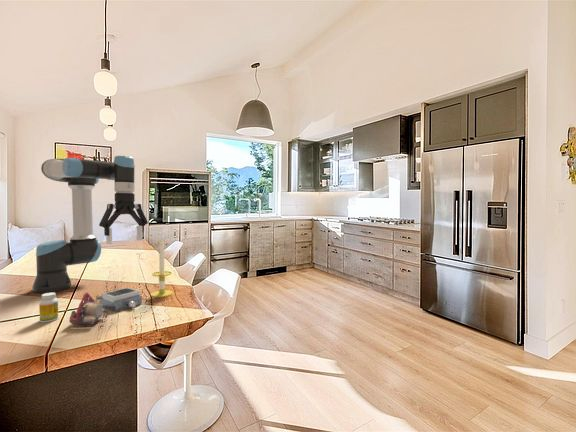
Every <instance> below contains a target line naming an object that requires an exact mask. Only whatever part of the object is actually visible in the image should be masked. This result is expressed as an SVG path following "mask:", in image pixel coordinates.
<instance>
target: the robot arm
mask: <svg viewBox="0 0 576 432" xmlns="http://www.w3.org/2000/svg"><path fill="white" fill-rule="evenodd" d="M40 166H41V167H40V168H41V169H40V170H41V173H42V174H43V175H44V176H45V178H48V179H49V180H52V181H54V182H60V183H61V182H62V183H67V187H68V188H70V189H71V201H72V202H71V203H72V206H71V207H72V209H71V210H72V236H71V237H70V238H69V242H67V241H66V240H64V239H60V240H52V241H47V242H42V243H40V244H38V245H37V246H36V249H35V250H36V251H35V257H36V275H35V278H34V281H33V284H32V290H31V291H32V292H33V293H35V294H36V293H37V294H45V293H56V292H59V291H64V290H68V289H70V288H71V287H72V280H71V278H70V276H69V274H68V272H67V271H68V268H67V267H68V266H75V265H83V264H89V263H94V262H97V261H98V260H99V258H100V257H101V253H102V243H101V241H100V240H98V239H97V236H95V235H94V230H93V224H94V222H93V200H92V199H93V197H92V196H93V194H92V190H93V189H94V188H95V187H96V184H98V183H99V182H100V181H99V179H102V180H107V181H114V192H115V193H114V204H113V203H107V205H106V209H105V212H104V213H103V216H102V218H101V220H100V222H99V224H98V225H99V227H102V228H104V230H103V231H104V234H103V235H104V236H105V237H106V244H108V245H109V244H110V245H112V244H113V228H112V225H113V224H114V223H115V221H116V220H117V219H118V218H119V216H121V215H130V216H131V218H132V219H133V220H134V221H135V222H136V224H137V225H136V240H137V241H143V233H144V231H145V228H144V227H145V226H146V225H148V223H149V221H148V220H147V218H146V215H145V213H144V210H143V209H142V204H141V203H136V204H135V200H136V199H135V167H136V166H135V159H134V157H132V156H127V155H115V156H114V159H113V162H109V161H103V160H102V161H101V160H93V159H91V160H90V159H83V158H77V157H66V158H50V159H47V160H45V161H44V162H43V163H42V164H41V165H40ZM114 209H115V210H114ZM134 209H135V210H134ZM113 210H114V211H113Z"/></svg>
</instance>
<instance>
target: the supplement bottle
mask: <svg viewBox="0 0 576 432" xmlns="http://www.w3.org/2000/svg"><path fill="white" fill-rule="evenodd" d="M38 304H39V305H38V306H39V322H41V323H50V322H51V323H52V322H54V321H56V320H58V319H59V300H58V298H57V294H56V292H48V293H42V294H41V300H40V301H39V303H38Z"/></svg>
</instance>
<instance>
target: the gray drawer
mask: <svg viewBox="0 0 576 432" xmlns="http://www.w3.org/2000/svg"><path fill="white" fill-rule="evenodd" d="M101 295H102V297H103V298H104V299H103V301H102V303H101V305H102V308H103V309H106V310H108V311H109V310H110V311H112V312H116V313H117V312H121V311H123V310H126V308H127V309H129V308H131V309H134V308H136V305H137V306H139V305H142V304H143V296H142V295H140V290H139V289H135V288H131V287H127V286H126V287H124V288H123V287H122V288H119V289H116V290H111V291H107V292H102V293H101ZM101 295H100V296H101Z"/></svg>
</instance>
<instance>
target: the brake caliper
mask: <svg viewBox="0 0 576 432" xmlns="http://www.w3.org/2000/svg"><path fill="white" fill-rule="evenodd" d="M103 299H104V298H103V297H102V295H100V294H97V295H96V297H95V300H94V299H93V297H92V296H91V295H90V294H89V292H87V291H86V292H85V293H84V294H83V295H82V298H81V300H80V303H78V307H77V309H76V310H72V311H71V314H70V317H69V324H71V325H72V327H70V330H73V329H75V330H89V329H94V328H95V326H93V325H94V324H95V322H98V320H100V318H101V317H102V316H103V315H104V314H105V313H106V312H108V309H106V308H103V307H102V305H101V303H102V301H103Z"/></svg>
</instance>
